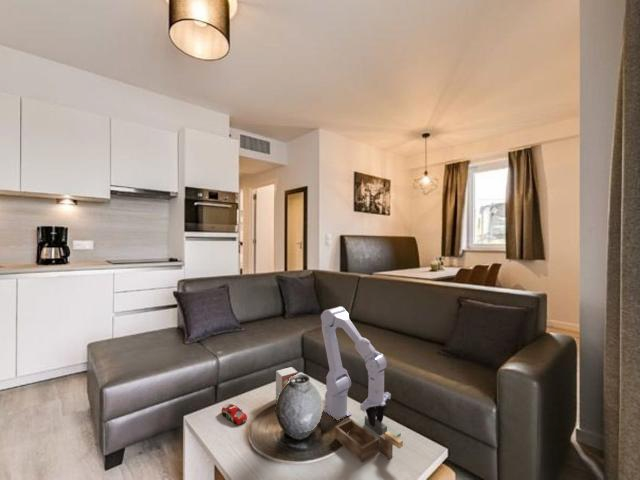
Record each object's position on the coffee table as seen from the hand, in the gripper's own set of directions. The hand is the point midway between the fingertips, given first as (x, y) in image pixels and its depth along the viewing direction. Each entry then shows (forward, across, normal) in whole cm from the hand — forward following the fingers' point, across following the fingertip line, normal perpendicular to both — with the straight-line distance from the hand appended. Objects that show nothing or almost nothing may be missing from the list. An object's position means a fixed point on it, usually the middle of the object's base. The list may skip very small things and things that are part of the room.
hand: (375, 423), depth 114 cm
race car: (+5, -39, +41) cm, 57 cm away
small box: (+4, -15, +40) cm, 43 cm away
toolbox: (+4, -9, -2) cm, 10 cm away
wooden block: (-2, -5, -12) cm, 14 cm away
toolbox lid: (+5, 0, 0) cm, 5 cm away
